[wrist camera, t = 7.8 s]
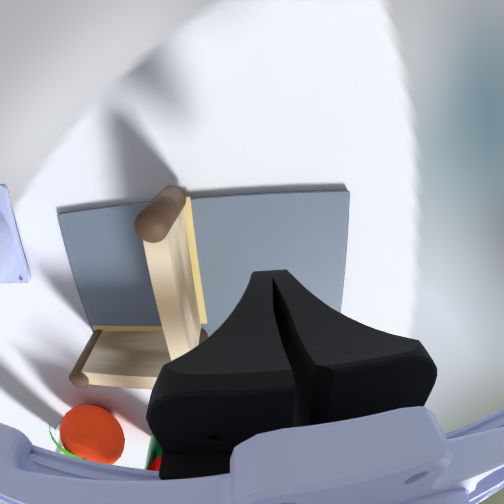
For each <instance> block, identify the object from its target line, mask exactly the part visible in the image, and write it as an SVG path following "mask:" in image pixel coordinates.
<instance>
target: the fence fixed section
mask: <svg viewBox="0 0 504 504" xmlns="http://www.w3.org/2000/svg"><path fill="white" fill-rule="evenodd" d="M207 338H208V334H207V332H206V331H205V330H204V329H202V328H201V331H200V337H199V344H201V343H202V342H203V341H205V340H206V339H207ZM199 344H198V345H199ZM170 361H171V357H170V354H169V350H168V347H167V343H166V339H165V336H164V332H163V331H103V330H100V329H97V330H95V331H94V332H93V334H92V336H91V338H90V339H89V341H88V343H87V345H86V346H85V348H84V350H83V352H82V354H81V356H80V357H79V359H78V361H77V363H76V365H75V367H74V369H73V371H72V372H71V374H70V376H69V379H70V381H71V382H72V383H73V384H74V385H75V386H77V387H79V388H86V387H87V386H88V384H92V385H101V386H111V387H123V388H137V389H153V386H154V384H155V382H156V380H157V377H158V375H159V373H160V371H161V369H162V367H163V365H164V364H166V363H169V362H170Z"/></svg>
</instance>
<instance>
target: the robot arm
mask: <svg viewBox="0 0 504 504" xmlns="http://www.w3.org/2000/svg"><path fill="white" fill-rule="evenodd" d="M21 276H22V277H21ZM30 280H31V275H30V272H29V269H28V265H27V262H26V259H25V256H24V253H23V249H22V246H21V242H20V239H19V235H18V231H17V228H16V224H15V220H14V215H13V211H12V207H11V202H10V197H9V193H8V188H7V186H6V185H5V184H1V185H0V283H28V282H29V281H30ZM436 377H437V367H436V365H435V364H434V362H433V360H432V359H431V357H430V355H429V354H428V352H427V351H426V349H425V348H424V346H423V345H422V344H421V343H420V341H419V340H415V339H410V338H406V337H401V336H397V335H392V334H389V333H386V332H383V331H380V330H377V329H374V328H371V327H369V326H366V325H364V324H361V323H359V322H357V321H355V320H353V319H351V318H349V317H347V316H345V315H343V314H341V313H340V312H338V311H336V310H334V309H333V308H331V307H330V306H328V305H327V304H325V303H324V302H323V301H321V300H320V299H318V298H317V297H316V296H315V295H313V294H312V293H311V292H310V291H309V290H308V289H306V288H305V287H304V286H303V285H302V284H301V283H300V282H299V281H298V280H297V279H296V278H295V277H294V276H293V275H292V274H291V273H290V272H289V271H288V270H287V269H283V270H268V271H254V272H253V273H252V274H251V277H250V281H249V283H248V285H247V288H246V290H245V292H244V294H243V295H242V297H241V299H240V301H239V302H238V304H237V305H236V307H235V308H234V310H233V311H232V313H231V314H230V315H229V317H228V318H227V319H226V320H225V321H224V322H223V324H222V325H221V326H220V327H219V328H218V329H217V330H216V331H215V332H214V333H213V334H212V335H211V336H209V337H208V338H207V339H206V340H205V341H203V342H202V343H201V344H199V345H198V346H196V347H195V348H193V349H192V350H190V351H189V352H187V353H185V354H184V355H182V356H180V357H178V358H176V359H174V360H172V361H170V362H169V363H166V364H164V365H163V367H162V369H161V371H160V373H159V375H158V377H157V380H156V382H155V384H154V386H153V389H152V393H151V396H150V401H149V405H148V410H147V415H146V419H147V422H148V425H149V427H150V429H151V431H152V433H153V435H154V437H155V439H156V440H157V442H158V444H159V446H160V448H161V449H162V457H161V463H160V469H159V471H151V470H143V469H135V468H128V467H122V466H116V465H110V464H104V463H99V462H94V461H90V460H85V459H81V458H76V457H72V456H68V455H65V454H61V453H57V452H54V451H50V450H47V449H43V448H40V447H37V446H34V445H32V443H31V441H30V440H29V439H28V438H27V437H26V436H25V435H24V434H23V433H22V432H21V431H19V430H18V429H16V428H13V427H10V426H8V425H5V424H2V423H0V501H1V502H2V503H3V504H478V503H479V502H481V501H482V500H484V499H486V498H487V497H489V496H490V495H492V494H493V493H495V492H497V491H498V490H500V489H501V488H503V487H504V408H503V409H500V410H498V411H496V412H495V413H492V414H490V415H488V416H486V417H484V418H482V419H480V420H478V421H475V422H473V423H471V424H468V425H466V426H464V427H461V428H459V429H457V430H454V431H451V432H449V433H447V434H444V432H443V430H442V428H441V426H440V424H439V422H438V420H437V418H436V416H435V414H434V413H433V412H432V411H430V410H429V409H427V408H426V407H423V406H424V405H425V402H426V401H427V399H428V397H429V395H430V392H431V390H432V388H433V386H434V384H435V381H436Z"/></svg>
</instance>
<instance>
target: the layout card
mask: <svg viewBox="0 0 504 504" xmlns="http://www.w3.org/2000/svg"><path fill="white" fill-rule="evenodd" d="M349 202H350V192H349V191H348V190H339V191H302V192H277V193H257V194H240V195H225V196H211V197H198V198H190V197H186V204H185V206H184V215H185V223H186V231H187V238H188V245H189V253H190V260H191V266H192V273H193V280H194V286H195V292H196V298H197V304H198V310H199V316H200V322H201V328H202V329H204V330H205V331H206V332H207V334H208V337H209V336H211V335H212V334H213V333H214V332H215V331H216V330H217V329H218V328H219V327H220V326H221V325H222V324H223V322H224V321H225V320H226V319H227V318H228V317H229V315H230V314H231V313H232V311H233V310H234V308H235V307H236V305H237V304H238V302H239V301H240V299H241V297H242V295H243V294H244V292H245V290H246V288H247V285H248V283H249V281H250V277H251V274H252V273H253V272H254V271H268V270H283V269H287V270H288V271H289V272H290V273H291V274H292V275H293V276H294V277H295V278H296V279H297V280H298V281H299V282H300V283H301V284H302V285H303V286H304V287H305V288H306V289H308V290H309V291H310V292H311V293H312V294H313V295H315V296H316V297H317V298H318V299H320V300H321V301H323V302H324V303H325V304H327V305H328V306H330V307H331V308H333V309H334V310H336V311H338V312H340V313H341V304H342V295H343V286H344V275H345V264H346V252H347V239H348V223H349ZM149 203H150V202H145V203H136V204H127V205H118V206H110V207H102V208H94V209H86V210H79V211H72V212H65V213H60V214H58V215H57V216H58V221H59V225H60V229H61V233H62V237H63V241H64V245H65V249H66V252H67V256H68V260H69V263H70V266H71V270H72V273H73V276H74V280H75V283H76V286H77V289H78V292H79V295H80V298H81V301H82V304H83V307H84V309H85V312H86V315H87V318H88V320H89V323H90V326H91V328H92V331H93V332H94V331H95V330H97V329H100V330H103V331H163V328H162V324H161V320H160V316H159V312H158V308H157V304H156V300H155V296H154V291H153V287H152V282H151V278H150V273H149V268H148V264H147V259H146V254H145V249H144V243H143V239H141V238H140V237H139V236H138V234H137V232H136V230H135V219H136V217H137V215H138V214H139V213H140V212H141V211H142V210H143V209H144V208H145V207H146V206H147V205H148V204H149Z"/></svg>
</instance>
